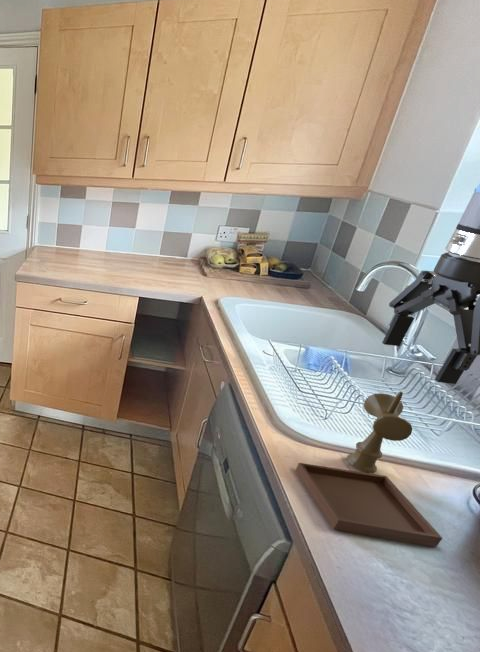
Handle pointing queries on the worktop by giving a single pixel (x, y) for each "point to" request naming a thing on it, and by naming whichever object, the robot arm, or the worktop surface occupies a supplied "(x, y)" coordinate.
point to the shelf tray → (366, 505)
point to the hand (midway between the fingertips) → (415, 361)
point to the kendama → (380, 430)
